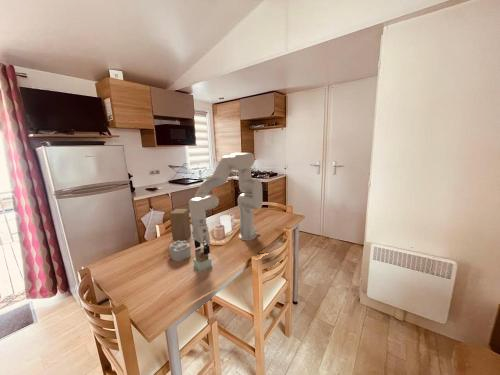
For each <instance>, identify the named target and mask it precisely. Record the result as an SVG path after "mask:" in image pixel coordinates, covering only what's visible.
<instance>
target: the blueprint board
mask: <svg viewBox="0 0 500 375" xmlns="http://www.w3.org/2000/svg"><path fill="white" fill-rule="evenodd" d="M191 266H192V268H194V270H196V271H197V272H198V273H202V272H204V271H206V270H208V269H210V268H212V267H214V266H215V264H213V263H212V265H211V266H209V267H207V268H205V269H203V270H201V271H200V270H199V269H198V268H196V267H195V266H194V263H193V264H191Z"/></svg>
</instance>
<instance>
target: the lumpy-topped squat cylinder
mask: <svg viewBox="0 0 500 375" xmlns="http://www.w3.org/2000/svg"><path fill="white" fill-rule="evenodd" d="M168 248H169V255H170V259H172V261H174V262H182V261H183V260H185V259H188V258H191V255H192V253H191V244H190V243H188V242H187V241H186V240H175V241H173V242H171V243H170V244H169V246H168Z"/></svg>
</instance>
